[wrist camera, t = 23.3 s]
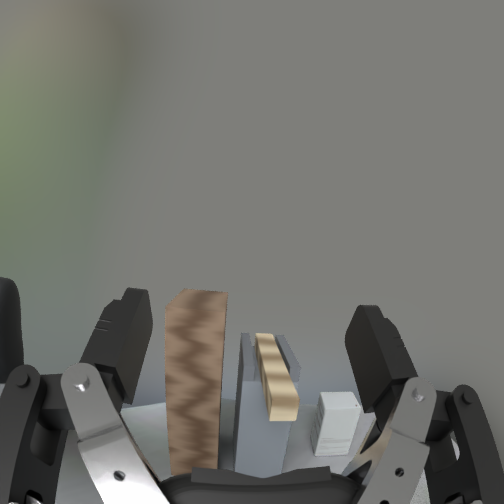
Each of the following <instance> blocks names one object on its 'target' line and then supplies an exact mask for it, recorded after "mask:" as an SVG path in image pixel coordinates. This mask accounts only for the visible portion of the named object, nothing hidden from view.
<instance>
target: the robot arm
mask: <svg viewBox="0 0 504 504" xmlns="http://www.w3.org/2000/svg"><path fill="white" fill-rule="evenodd" d="M152 326H153V320H152V313H151V307H150V300H149V294H148V291H147V290H145V289H136V288H127V289H126V291H125V293H124V295H123V297H122V299H121V300H113V301H112V302H111V303H110V304H108V305H107V306H106V307H105V308H104V310H103V312H102V314H101V316H100V318H99V321H98V322H97V324H96V327H95V329H94V331H93V333H92V335H91V337H90V339H89V342H88V344H87V346H86V348H85V350H84V353H83V355H82V357H81V360H80V362H79V363H77V364H74V365H71V366H70V367H68V368H67V369H66V370H65V371H64V373H63V374H50V375H40V374H39V373H38V371H37V370H36V369H35V368H34V367H33V366H31V365H24V360H23V359H24V353H23V341H22V330H21V309H20V297H19V292H18V289H17V286H16V284H15V283H14V281H12V280H11V279H8V278H3V277H0V504H55V497H56V490H57V484H58V477H59V472H60V466H61V461H62V456H63V451H64V447H65V442H66V438H67V434H68V430H73V429H76V432H77V434H78V437H79V441H78V442H77V444H78V448H79V451H80V454H81V456H82V458H83V461H84V463H85V465H86V467H87V469H88V472H89V474H90V476H91V478H92V480H93V482H94V484H95V486H96V488H97V490H98V492H99V494H100V495H101V497H102V499H103V501H104V503H105V504H410V501H411V499H412V497H413V494H414V492H415V490H416V487H417V485H418V482H419V479H420V477H421V474H422V472H423V469H424V470H425V475H426V480H427V486H428V491H429V497H430V503H431V504H504V473H503V469H502V465H501V461H500V458H499V454H498V451H497V448H496V444H495V441H494V438H493V435H492V432H491V429H490V426H489V424H488V421H487V418H486V415H485V413H484V410H483V407H482V405H481V402H480V400H479V397H478V395H477V393H476V392H475V390H474V389H473V388H471V387H470V386H468V385H459V386H457V388H455V389H454V390H453V392H452V393H451V392H444V391H437V390H435V388H434V387H433V385H432V384H431V383H430V382H429V381H427V380H426V379H424V378H420V377H418V375H417V372H416V370H415V368H414V366H413V363H412V361H411V358H410V356H409V354H408V352H407V350H406V347H404V343H403V341H402V339H401V337H400V334H399V332H398V330H397V328H396V327H395V325H394V324H392V322H391V321H390V320H389V319H388V318H384V317H383V315H382V313H381V311H380V308H379V307H378V306H376V305H359V306H358V307H357V309H356V311H355V313H354V316H353V318H352V320H351V322H350V325H349V327H348V329H347V331H346V335H345V346H346V350H347V353H348V356H349V360H350V363H351V366H352V370H353V373H354V377H355V381H356V384H357V388H358V391H359V395H360V399H361V403H362V406H363V410H364V413H372V412H375V415H376V418H375V419H374V420H373V422H372V424H371V426H370V428H369V430H368V432H367V434H366V436H365V438H364V440H363V442H362V444H361V446H360V448H359V450H358V451H357V453H356V455H355V457H354V458H353V460H352V461H351V462H350V463H349V464H348V466H347V467H346V468H345V469H344V471H343V472H342V474H341V475H340V474H335V473H331V472H330V466H326V467H316V468H305V469H296V470H293V471H290V472H286V473H283V474H279V475H275V476H271V477H267V478H259V477H254V476H250V475H246V474H242V473H238V472H234V471H230V470H224V469H210V468H199V467H192V473H184V474H180V475H176V476H173V477H170V478H168V479H166V480H164V481H162V482H161V481H160V480H159V478H158V477H157V475H156V474H155V472H154V471H153V469H152V467H151V466H150V464H149V463H148V461H147V460H146V458H145V457H144V455H143V454H142V452H141V450H140V448H139V447H138V445H137V443H136V441H135V440H134V438H133V436H132V434H131V432H130V431H129V429H128V427H127V425H126V423H125V421H124V419H123V417H122V415H121V413H120V411H121V408H122V404H123V403H127V404H132V402H133V398H134V395H135V390H136V387H137V383H138V379H139V375H140V372H141V368H142V365H143V361H144V357H145V354H146V351H147V347H148V344H149V340H150V337H151V333H152ZM453 431H454V433H455V437H456V440H457V444H458V447H459V451H460V455H459V459H458V460H457V459H456V455H455V451H454V448H453V444H452V440H451V437H450V433H451V432H453Z"/></svg>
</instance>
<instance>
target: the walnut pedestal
mask: <svg viewBox="0 0 504 504" xmlns="http://www.w3.org/2000/svg"><path fill="white" fill-rule="evenodd" d="M227 296H228V293H227V292H216V291H204V290H194V289H183V290H182V291H181V292H180V293H179V294H178V295H177V296H176V297H175V298H174V299H173V300H172V301H171V302H170V303H169V304H168V305H167V306H166V312H165V383H166V410H167V428H168V442H169V454H170V464H171V474H172V475H175V476H176V475H180V474H184V473H192V467H199V468H210V469H217V466H218V448H219V429H220V409H221V390H222V372H223V355H224V340H225V325H226V310H227Z"/></svg>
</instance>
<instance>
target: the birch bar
mask: <svg viewBox="0 0 504 504" xmlns="http://www.w3.org/2000/svg"><path fill="white" fill-rule="evenodd" d="M255 337H256V338H255V347H254V349H255V354H256V359H257V364H258V368H259V373H260V378H261V383H262V388H263V393H264V398H265V402H266V407H267V412H268V416H269V421H296V418H297V412H298V407H299V401H300V399H299V396H298V394H297V392H296V389H295V387H294V385H293V382H292V380H291V377H290V375H289V373H288V370H287V368H286V366H285V363H284V361H283V359H282V356H281V354H280V352H279V349H278V347H277V344H276V342H275V340H274V337H273V335H272V334H263V333H256V336H255Z"/></svg>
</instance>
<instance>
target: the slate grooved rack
mask: <svg viewBox="0 0 504 504" xmlns="http://www.w3.org/2000/svg"><path fill="white" fill-rule="evenodd" d="M275 342H276V344H277V347H278V349H279V352H280V354H281V356H282V359H283V361H284V363H285V366H286V368H287V370H288V373H289V375H290V377H291V380H292V382H293V385H294V387H295V389H296V392H297V387H298V381H299V375H300V369H301V367H300V365H299V363H298V361H297V359H296V357H295V356H294V354H293V352H292V350H291V348H290V346H289V344H288V343H287V341H286V339H285V337H284V335H276V337H275ZM254 347H255V346H251V341H250V335H249V334H248V333H241V343H240V354H239V367H238V380H237V392H236V405H235V418H234V431H233V457H234V472H238V473H242V474H246V475H250V476H254V477H259V478H267V477H271V476H275V475H279V474H281V471H282V466H283V462H284V457H285V452H286V447H287V443H288V438H289V432H290V427H291V422H292V421H269V416H268V412H267V407H266V402H265V398H264V393H263V388H262V383H261V378H260V373H259V368H258V364H257V359H256V354H255V349H254Z"/></svg>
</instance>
